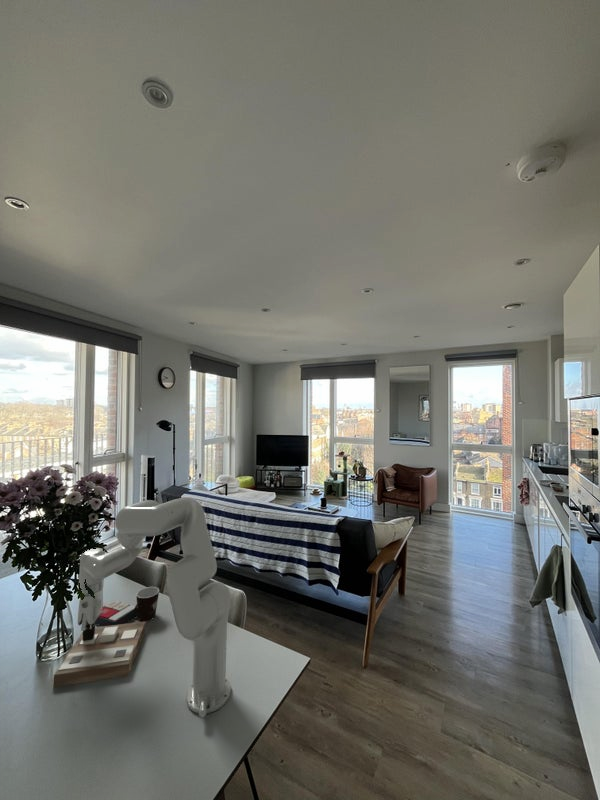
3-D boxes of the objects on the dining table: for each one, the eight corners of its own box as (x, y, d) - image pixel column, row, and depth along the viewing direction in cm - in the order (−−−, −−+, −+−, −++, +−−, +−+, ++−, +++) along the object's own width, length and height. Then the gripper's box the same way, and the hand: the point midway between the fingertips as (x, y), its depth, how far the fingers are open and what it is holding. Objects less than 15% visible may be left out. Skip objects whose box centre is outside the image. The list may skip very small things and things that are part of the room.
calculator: (114, 598, 140) (138, 605, 134) (113, 608, 139) (138, 615, 133) (88, 612, 130) (114, 620, 124) (88, 623, 129) (114, 631, 123)
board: (128, 675, 102) (128, 662, 103) (53, 686, 98) (54, 673, 98) (145, 630, 124) (145, 620, 124) (84, 638, 119) (84, 627, 119)
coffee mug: (151, 608, 138) (152, 584, 139) (162, 615, 133) (163, 591, 134) (123, 622, 129) (124, 596, 129) (134, 630, 124) (135, 604, 124)
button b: (113, 644, 113) (114, 634, 113) (99, 646, 112) (100, 635, 112) (117, 636, 117) (118, 626, 118) (104, 637, 116) (104, 627, 117)
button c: (92, 652, 112) (93, 642, 112) (78, 654, 111) (79, 644, 111) (97, 644, 116) (98, 634, 116) (84, 645, 115) (84, 635, 115)
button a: (133, 647, 115) (133, 637, 115) (120, 649, 114) (120, 639, 114) (136, 639, 119) (137, 629, 119) (123, 640, 118) (124, 630, 118)
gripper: (94, 596, 108) (91, 652, 107) (110, 574, 123) (107, 624, 122) (69, 598, 106) (66, 655, 105) (88, 576, 121) (85, 626, 120)
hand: (88, 638), depth 114 cm, fingers closed
